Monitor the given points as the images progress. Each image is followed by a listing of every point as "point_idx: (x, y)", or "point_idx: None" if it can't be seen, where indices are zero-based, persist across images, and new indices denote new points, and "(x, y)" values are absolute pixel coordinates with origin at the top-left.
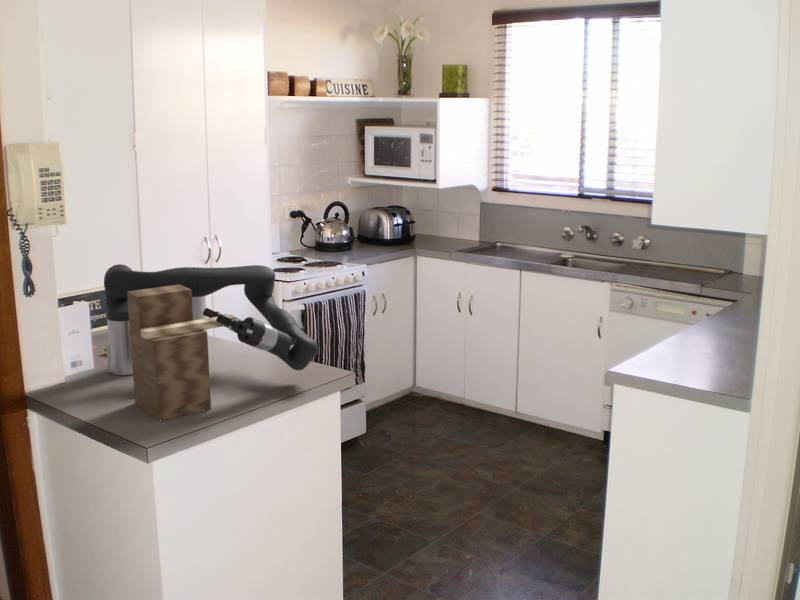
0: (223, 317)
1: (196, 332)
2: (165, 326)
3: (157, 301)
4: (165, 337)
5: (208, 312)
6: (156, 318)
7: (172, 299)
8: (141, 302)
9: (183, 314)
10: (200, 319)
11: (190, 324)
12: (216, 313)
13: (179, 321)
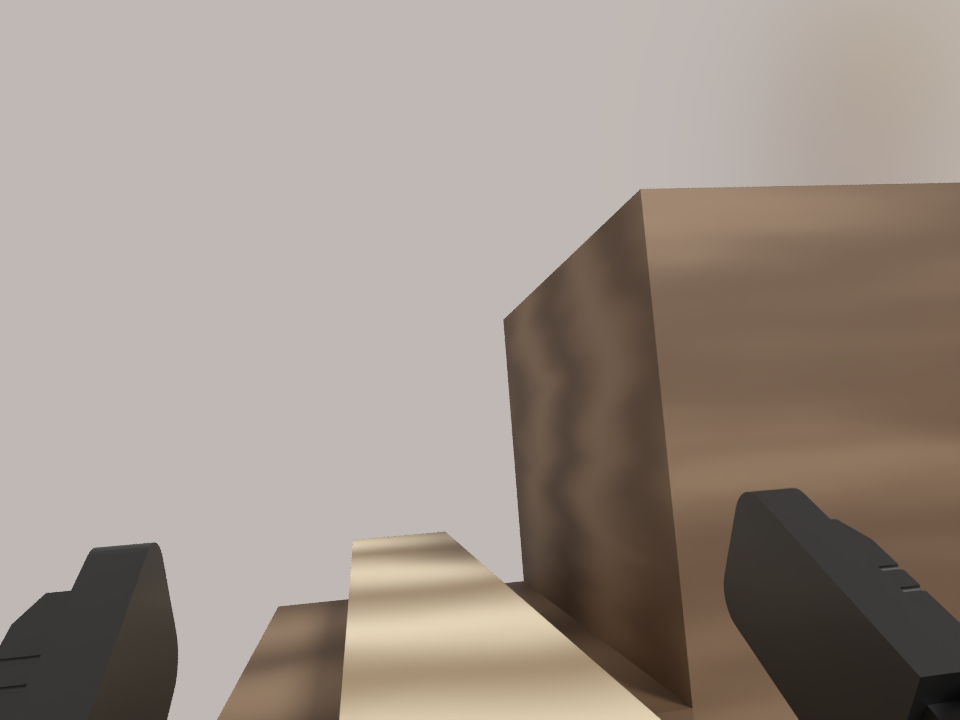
0: (16, 623)
1: (279, 717)
2: (423, 555)
3: (539, 351)
4: (315, 625)
5: (770, 585)
6: (545, 494)
7: (572, 331)
8: (510, 357)
9: (626, 513)
10: (551, 625)
11: (357, 599)
12: (895, 686)
13: (616, 586)
